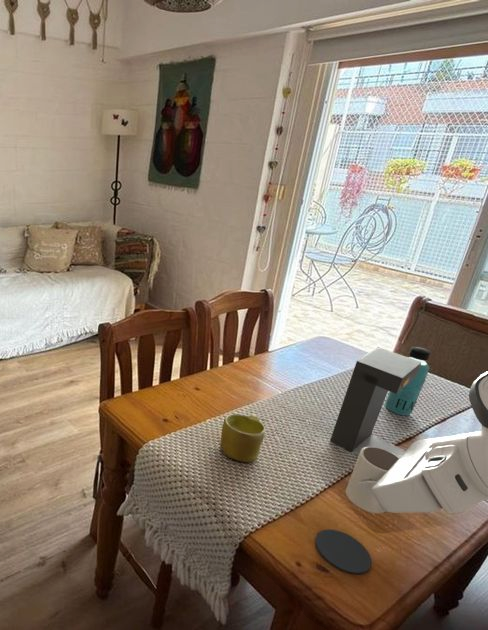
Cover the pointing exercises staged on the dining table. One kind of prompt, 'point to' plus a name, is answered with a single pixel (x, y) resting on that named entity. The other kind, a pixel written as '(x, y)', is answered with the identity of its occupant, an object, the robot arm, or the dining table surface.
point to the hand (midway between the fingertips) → (370, 476)
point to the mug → (242, 437)
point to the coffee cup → (369, 476)
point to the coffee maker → (371, 398)
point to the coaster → (343, 551)
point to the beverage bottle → (410, 386)
